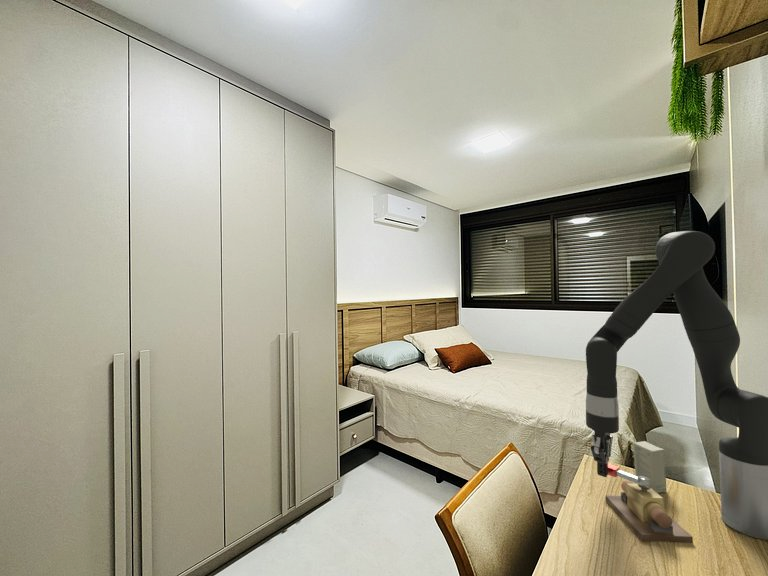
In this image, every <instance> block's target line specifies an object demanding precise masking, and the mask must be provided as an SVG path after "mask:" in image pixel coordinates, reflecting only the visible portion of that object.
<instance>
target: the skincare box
mask: <svg viewBox="0 0 768 576" xmlns="http://www.w3.org/2000/svg"><path fill="white" fill-rule="evenodd" d="M633 455H634V456H633V458H634V471H635V473H634V474H635V476H637V477H638V476H644V477H647V478H649V479H650V485H651V488H652V489H653V490H654V491H655V492H656V493H657V494H659V493H666V492H667V491H668V489H667V479H666V463H665V461H666V460H665V449H664V448H662V447H659V446H657V445H655V444H652V443H650V442H648V441H646V440H643V441H636V442H635V441H634V442H633Z"/></svg>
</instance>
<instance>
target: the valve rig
mask: <svg viewBox="0 0 768 576" xmlns="http://www.w3.org/2000/svg"><path fill="white" fill-rule="evenodd" d="M620 487H621V489H622V492H620V495H610V494H609V495H605V502H606V503H607V504H608V506H610V507H611V509H613V511H614V512H615V513H616V514H617V515H618V516H619V517H620V518H621V519H622V521H623V522H624V523H625V524H626V526H628V527H629V528H630V529H631V530H632V532H633V533H634V534H635V535H636V536H637V537H638V539H639V540H640V541H641V542H653V543H654V542H656V543H674V544H675V543H677V544H678V543H679V544H693V542H694V538H693V536H692V535H691V534H690V533H689V532H688V531H687V530H686V529H685V528H683V527H682V526H681V525H680V524H679V523H678V522H676V520H675V519H673V518H672V517H671V516H670V515H669V514H668V513H667V511H666V509H665V508H664V497H663V496H661V495H660V494H659V493H656V492H655V491H654V490H653V489H652V488H651V489H649V490H646V489H642V488H640V487H639V486H638V484H637V483H634V482H632V481H629V480H627V479H625V480H624V481H622V483H621V485H620Z"/></svg>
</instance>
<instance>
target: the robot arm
mask: <svg viewBox="0 0 768 576" xmlns="http://www.w3.org/2000/svg"><path fill="white" fill-rule="evenodd" d="M654 251H655V257H656V259H657V261H658V265H657V267H656V269H655V270H654V271H653V272H652V273H651V275H650V276H648V277H647V279H646V280H645V281H643V283H641V284H640V285H639V286H638V287H637V288H635V289H634V290H633V291H632V292H630V293H629V294H628V295H627V296H626V297H625V298H623V300H622V301H621V302H620V303H619V304H618V305H617V307H615V309H614V310H613V311H612V313H611V314H610V315H609V317H608V318H607V320H606V322H605V323H604V324H603V325H602V326H601V327H600V328H599V329H598V330H597V332H596V333H595V334H594V335H593V336H592V337H591V338H590V340H589V341H588V342H587V344H586V347H585V360H586V361H585V362H586V373H587V374H586V397H585V425H586V427H587V428H589V429H591V430H592V431H594V432H593V434H592V436H591V440H592V443H593V444H592V445H590V451H591V453H592V456H593V460H594V462H596V472H597V475H598V476H599V477H603V478H607V477H608V463H609V461H610V458H611V456H612V455H611V453H612V445H613V439H614V437H613V435H611V434H616V433H618V432H619V431H620V415H619V414H620V413H619V409H620V407H619V399H618V382H617V381H618V380H617V366H618V365H617V362H618V352H619V351H620V350H621V348H622V347H623V346H624V345H625V344H626V342H627V341H628V340H629V339H631V338H632V337H633V336H635V335H636V334H637V332H638V331H639V330H640V329H641V328H642V327H643V326H644V325H645V323H646V322H647V321H648V320H649V319H650V318H651V316H652V315H653V314H654V312H656V311H657V309H658V308H659V307H660V306H661V305H662V304H663V303H664V302H665V301H666V300H667V299H668V298H669V297H670V296H671V295H672V294H673V295H674V300H675V303H676V306H677V309H678V312H679V314H680V317H681V321H682V324H683V328H684V330H685V333H686V336H687V338H688V341H689V343H690V346H691V348H692V351H693V354H694V357H695V360H696V362H697V363H696V364H697V366H698V369H699V373H700V376H701V380H702V386H703V389H704V394H705V398H706V403H707V406H708V409H709V410H710V412H711V414H712V415H713V416H714V417H715V418H716V419H718V420H719V421H721V422H723V423H725V424H729V425H730V426H734V427H737V428H738V436H737V437H734V436H732V437H731V436H729V437H728V436H727V437H723V438H720V439H719V442H718V453H719V454H718V457H719V482H720V483H719V485H720V512H721V513H720V514H721V518H720V519H722V522H724V524H726V525H727V526H728V527H730V528H731V529H733V530H734V531H737V532H738V533H742V535H743V534H744V535H746V536H748V537H751V538H755V539H760V540H767V541H768V396H765V395H763V394H759V393H756V392H751V391H747V390H744V389H740V388H739V387H738V386H737V383H736V382H735V380H734V377H733V373H732V368H731V367H732V363H733V360H734V359H735V357H736V355H737V352H738V351H739V348H740V346H741V345H740V344H741V336H740V333H739V331H738V327H737V325H736V322H735V319H734V317H733V315H732V313H731V311H730V309H729V308H728V306H727V305H726V302H724V301H723V299H722V298H721V297H720V296H719V294H718V293H717V292H716V291H715V289H714V288H713V287H712V285H711V284H710V282H709V281H708V279H707V276H706V273H705V270H704V266H705V265H706V264H708V262H709V261H710V260H712V258H713V256H714V254H715V252H716V244H715V241H714V239H713V238H712V237H711V236H710V235H709V234H707V233H705V232H702V231H696V230H685V231H674V232H672V231H671V232H669V233H667V234H665V235H663V236H661V237H660V238H659V240H658V241H657V242H656V245H655V250H654Z"/></svg>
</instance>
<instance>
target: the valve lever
mask: <svg viewBox="0 0 768 576" xmlns="http://www.w3.org/2000/svg"><path fill="white" fill-rule="evenodd" d="M608 475H609V476H610V477H613V478H616V477H620V478H621V479H624V480H628V481H631V482H632V483H633V484H638V486H639V487H640V488H642V489H646V490H649V489H651V485H650V479H649V478H647V477H644V476H638V477H637V476H636V474H635V475H634V474H632V473H629V472H627V471H624V470H621V469H620V467H619V466H617V465H614V464H612V463H609V462H608ZM608 475H607V476H608Z"/></svg>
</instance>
